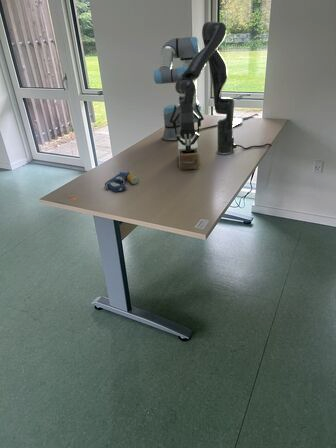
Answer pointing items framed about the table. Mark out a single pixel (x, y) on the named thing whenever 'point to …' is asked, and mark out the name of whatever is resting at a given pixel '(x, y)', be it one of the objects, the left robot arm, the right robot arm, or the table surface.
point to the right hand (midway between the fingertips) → (188, 151)
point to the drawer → (188, 160)
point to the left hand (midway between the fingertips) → (187, 132)
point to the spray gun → (120, 181)
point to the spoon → (236, 121)
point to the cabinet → (183, 147)
